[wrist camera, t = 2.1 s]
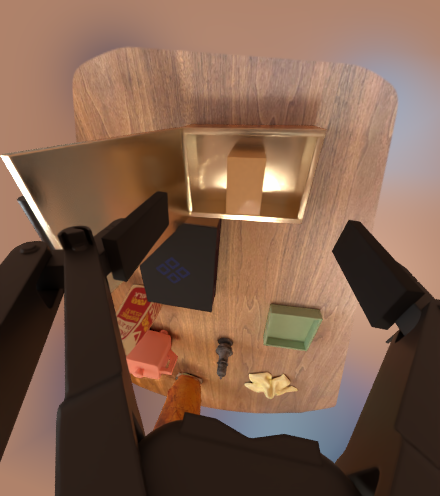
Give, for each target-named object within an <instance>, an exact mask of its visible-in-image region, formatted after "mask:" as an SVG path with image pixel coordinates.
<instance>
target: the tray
mask: <svg viewBox="0 0 440 496" xmlns="http://www.w3.org/2000/svg"><path fill="white" fill-rule="evenodd" d="M322 320H323V319H322V315H321V312H320V310H318V309H309V308H301V307H292V306H284V305H275V304H271V305H270V309H269V313H268V318H267V322H266V327H265V331H264V335H263V343H264V345H266V346H273V347H280V348H287V349H294V350H301V351H307V350H308V348H309V346H310V344H311V342H312V340H313V338H314V336H315V334H316V332H317V330H318V328H319V326H320V324H321V322H322Z"/></svg>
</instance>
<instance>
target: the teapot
mask: <svg viewBox="0 0 440 496" xmlns="http://www.w3.org/2000/svg"><path fill="white" fill-rule="evenodd" d="M167 334H168V332H167V331H166V330H161V331H160V332H156V331H151V330H150V328H149V329H148V331H147V332H146V334H145V335H144V337H143V338H142V339H141V340H140V341H139V342H138V344H137V345H136V346H135V347H134V348H133V350H132V351H131V352H130V353H129V354H128V355H127V356H126V360H127V364H128V369H129V373H131V374H133V375H134V376H135V377H138V378H142V377H148V378H153V379H159V378H160V377H161V375H162V374H167V375H172V372H173V369H174V367H175V364H176V362H177V359H178V356H177V355H176V354H175V353H174V352H173V351H172V350H171V336H170V335H167ZM168 359H169V360H170V363H169V367H168V368H166V364H167V362H168Z"/></svg>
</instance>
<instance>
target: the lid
mask: <svg viewBox="0 0 440 496" xmlns="http://www.w3.org/2000/svg"><path fill="white" fill-rule="evenodd" d="M1 157H2V159H3V160H4V162H5V164H6V166H7V168H8V169H9V171H10V173H11V174H12V176H13V178H14V179H15V181H16V183H17V184H18V186H19V188H20V190H21V191H22V193H23V195H24V196H21V197H19V198H18V199H17V201H18V202H19V204H20V206H21V207H22V209H23V211H24V212H25V214H26V215H27V217H28V219H29V220H30V222H31V224H32V225H33V227H34V229H35V230H36V232H37V233H38V235H39V237H40V238H41V240H42V242H46V244H47V245H48V247H49V249H50V250H54V249H63V247H62V245H61V243H60V241H59V239H58V236H57V235H58V233H59V232H60V231H61V230H63V229H65V228H68V227H72V226H79V225H81V226H87V227H90V229H91V231H92V234H93V237H94V236H95V235H96V234H97V233H99V232H100V231H101V230H103V229H104V228H105V227H106V226H108V225H109V224H110V223H111V222H113V221H114V220H117V219H119V218H126V217H127V216H128V215H129V214H130V213H131V212H133V211H134V210H135V209H136V208H137V207H139V206H140V205H141V204H142V203H143V202H145V201H146V200H147V199H148V198H149V197H151V196H152V195H153V194H154V193H155V192H157V191H161V192H167V196H168V213H169V226H168V227H167V229H166V230H165V231H164V233H163V234H162V235H161V237H160V238H159V239H158V241H157V242H156V243H155V245H154V246H153V247H152V249H151V250H150V251H149V253H148V254H147V255H146V257H145V258H144V259H143V261H142V262H141V263H140V265H141V264H142V263H143V262H144V261H145V260H146V259H147V258H148V257H149V256H150V255H151V254H152V253H153V252H154V251H155V250H156V249H157V248H158V247H159V246H160V245H161V244H162V243H164V242H165V241H166V240H167V239H168V238H169V237H170V236H171V235H172V234H173V233H174V232H175V231H176V230H177V229H178V228H179V227H180V226H181V225H182V224H183V223H184V222H185V221H186V220H187V219H188V218H189V214H188V204H187V194H186V184H185V174H184V164H183V154H182V143H181V133H180V128H176V127H175V128H169V129H162V130H156V131H149V132H143V133H136V134H130V135H124V136H117V137H111V138H104V139H98V140H91V141H85V142H78V143H72V144H65V145H59V146H53V147H47V148H40V149H33V150H26V151H20V152H14V153H7V154H2V155H1ZM140 265H139V266H140ZM139 266H138V267H139ZM138 267H137V268H138ZM107 279H108V283H109V287H110V291H111V293H112V292H113V291H114V290H115V289H116V288H117V287H118V286H119V285H121V284H122V283H123V282H124V281H119V280H114V279H113V276H112V273H111V272H110V274H109V275H108V276H107Z"/></svg>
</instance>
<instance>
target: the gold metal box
mask: <svg viewBox="0 0 440 496" xmlns="http://www.w3.org/2000/svg"><path fill="white" fill-rule="evenodd" d="M179 128H180V133H181V143H182V154H183V164H184V174H185V184H186V194H187V204H188V214H189V216H192V217H206V218H221V219H235V220H250V221H264V222H279V223H293V224H302V219H303V216H304V212H305V209H306V205H307V201H308V197H309V194H310V190H311V186H312V182H313V179H314V175H315V171H316V168H317V164H318V160H319V156H320V153H321V149H322V145H323V141H324V137H325V134H326V130H327V129H324V128H320V127H317V126H314V125H229V124H190V125H186V126H182V127H179ZM234 145H250V146H264V148H265V153H266V158H267V160H266V168H265V176H264V183H263V191H262V199H261V207H260V215H259V216H252V215H237V214H226V189H227V157H228V155H229V153H230V151H231V150H232V148H233V146H234Z"/></svg>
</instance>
